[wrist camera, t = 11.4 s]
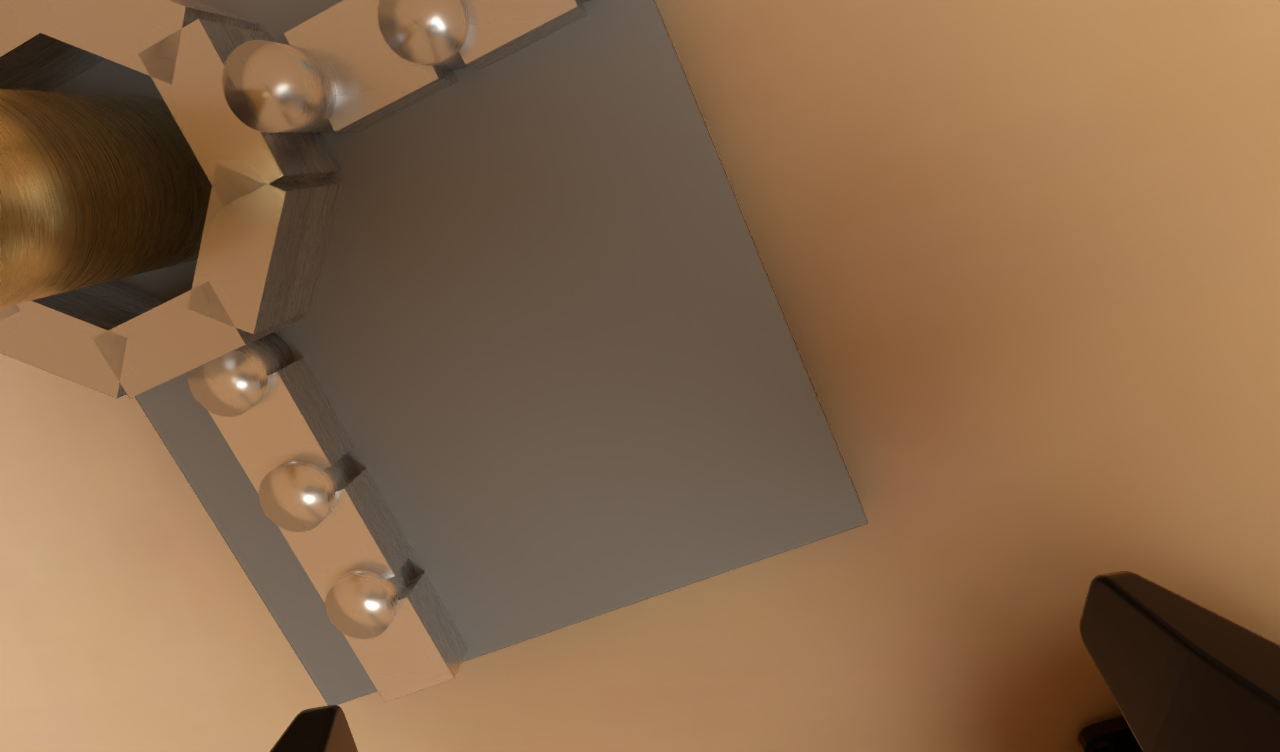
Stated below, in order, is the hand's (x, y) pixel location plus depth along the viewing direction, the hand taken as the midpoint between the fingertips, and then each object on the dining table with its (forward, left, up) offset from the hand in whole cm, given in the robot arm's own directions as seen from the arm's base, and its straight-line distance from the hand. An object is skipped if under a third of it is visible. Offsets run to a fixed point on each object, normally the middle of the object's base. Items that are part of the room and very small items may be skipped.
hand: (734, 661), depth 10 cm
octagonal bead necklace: (+5, +6, -9) cm, 12 cm away
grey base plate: (+5, +6, -10) cm, 12 cm away
